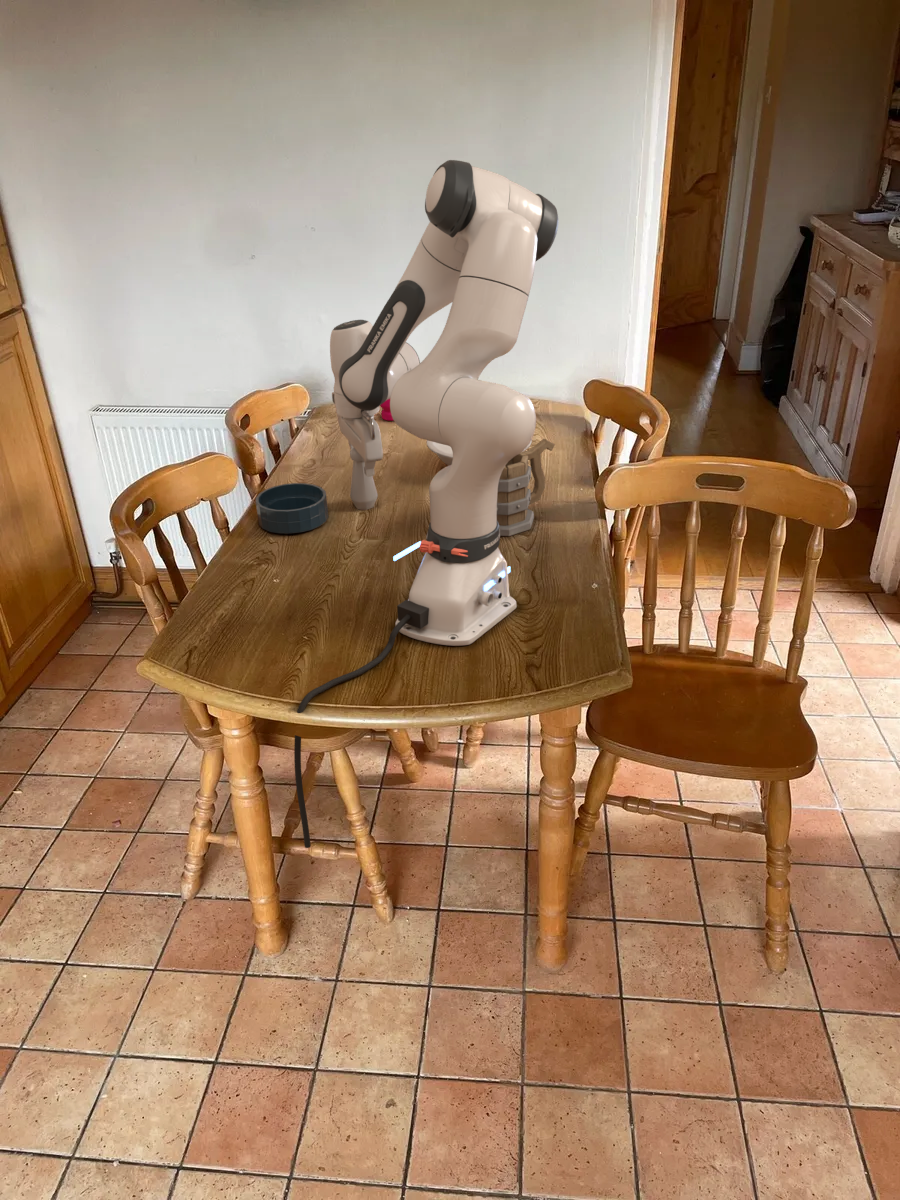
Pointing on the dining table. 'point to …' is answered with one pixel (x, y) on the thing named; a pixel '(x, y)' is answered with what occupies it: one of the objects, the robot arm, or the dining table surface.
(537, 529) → the dining table surface
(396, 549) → the dining table surface
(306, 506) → the glazed bowl
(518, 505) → the tankard
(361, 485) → the salt shaker
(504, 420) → the robot arm
